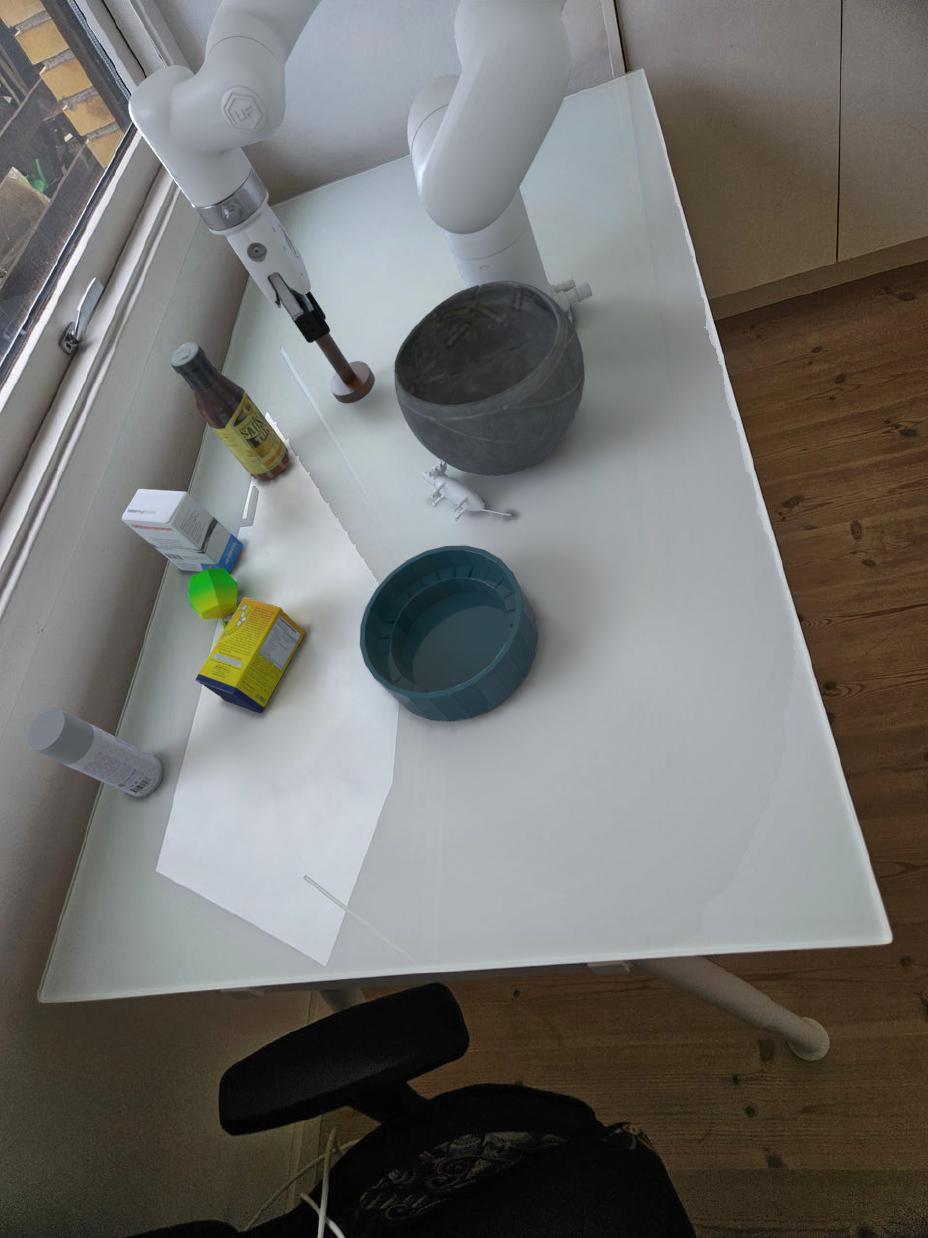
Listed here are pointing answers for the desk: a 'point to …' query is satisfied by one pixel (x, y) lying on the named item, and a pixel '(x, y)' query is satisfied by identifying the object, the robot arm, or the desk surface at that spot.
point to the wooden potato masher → (346, 373)
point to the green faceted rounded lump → (213, 594)
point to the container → (94, 752)
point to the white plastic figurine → (454, 491)
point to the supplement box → (251, 654)
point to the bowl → (491, 378)
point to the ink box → (182, 530)
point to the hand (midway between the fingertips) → (317, 329)
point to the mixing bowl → (449, 633)
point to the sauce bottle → (231, 414)
